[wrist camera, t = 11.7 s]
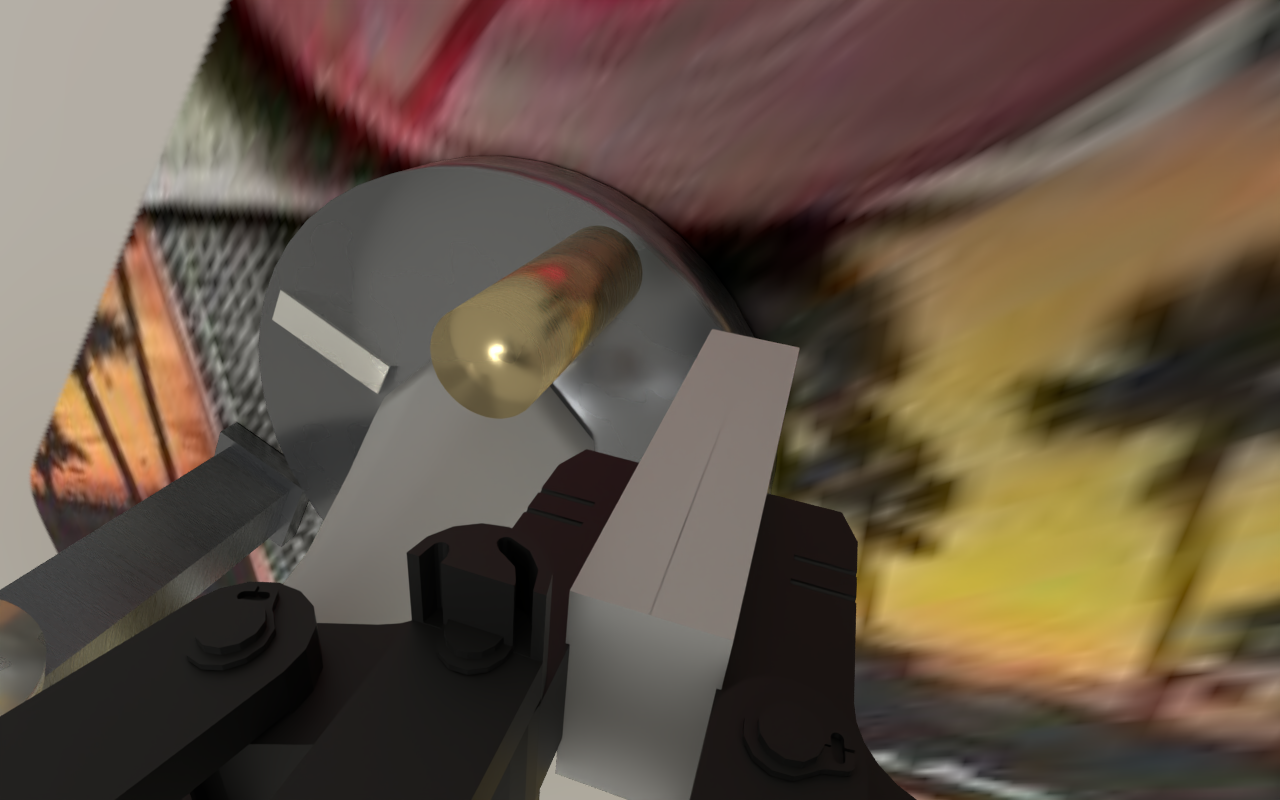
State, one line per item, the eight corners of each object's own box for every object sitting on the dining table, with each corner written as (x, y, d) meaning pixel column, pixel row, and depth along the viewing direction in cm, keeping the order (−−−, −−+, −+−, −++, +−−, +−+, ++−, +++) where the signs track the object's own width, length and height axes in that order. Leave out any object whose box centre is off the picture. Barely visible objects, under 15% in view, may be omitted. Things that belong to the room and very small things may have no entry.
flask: (355, 373, 21) (12, 590, 13) (549, 320, 19) (268, 558, 10) (453, 558, 24) (220, 840, 16) (639, 538, 21) (474, 874, 13)
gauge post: (325, 471, 28) (-100, 800, 16) (298, 537, 30) (-86, 866, 18) (235, 407, 28) (-260, 690, 16) (216, 480, 30) (-224, 771, 18)
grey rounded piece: (903, 388, 19) (915, 602, 12) (611, 676, 28) (518, 895, 21) (398, 26, 19) (97, 19, 12) (269, 435, 28) (55, 573, 21)
